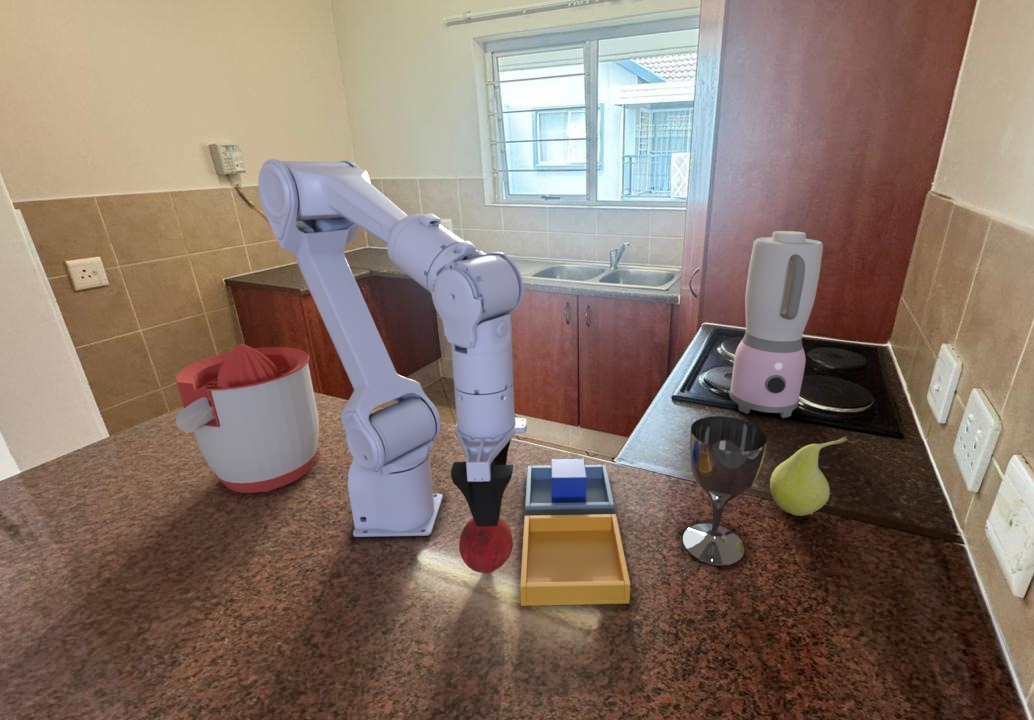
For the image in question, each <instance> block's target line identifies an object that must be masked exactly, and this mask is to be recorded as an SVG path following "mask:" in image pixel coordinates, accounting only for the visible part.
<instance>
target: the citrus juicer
mask: <svg viewBox="0 0 1034 720" xmlns="http://www.w3.org/2000/svg"><path fill="white" fill-rule="evenodd" d="M309 362H310V355H309V354H308V353H307V352H306V351H304V350H303V349H300V348H295V347H287V346H263V347H251V346H249V345H247V344H244V343H240V344H237V345H236V346H235V347H234V348H233V349H232V350H231V351H228V352H224V353H221V354H217V355H213V356H210V357H207V358H204V359H201V360H199V361H196V362H194V363H192V364H190V365H188V366H186V367H185V368H183V369H181V371H179V372H178V373H177V374H176V377H175V383H176V385H177V389H178V392H179V396H180V399H181V401H182V406H183V409H182V410H180V412H179V413H178V414H176V417H175V425H176V427H177V429H178V430H180V431H182V432H186V433H194V437H195V440H196V442H197V445H198V449H199V450H200V453H201V455H202V457H203V458H204V460H205V462H206V463H207V466H209V468H210V469H211V470H212V472H213V473H214V475H215V477H216V478H217V479H218V480H219V481H220V482H221V483H222V484H223V485H224V486H225V487H226V488H227V489H229V490H231V491H233V492H236V493H242V494H252V493H253V494H255V493H268V492H271V491H273V490H275V489H279V488H282V487H284V486H286V485H289V484H292V483H293V482H295V481H297V480H299V479H300V478H302V477H303V476H305V475H306V474H308V472H310V470H311V469H312V468H313V466H314V462H315V460H316V456H317V452H318V443H319V435H320V433H319V432H320V422H319V415H318V414H319V413H318V408H317V402H316V397H315V392H314V387H313V381H312V377H311V371H310V366H309V365H310V364H309Z"/></svg>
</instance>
